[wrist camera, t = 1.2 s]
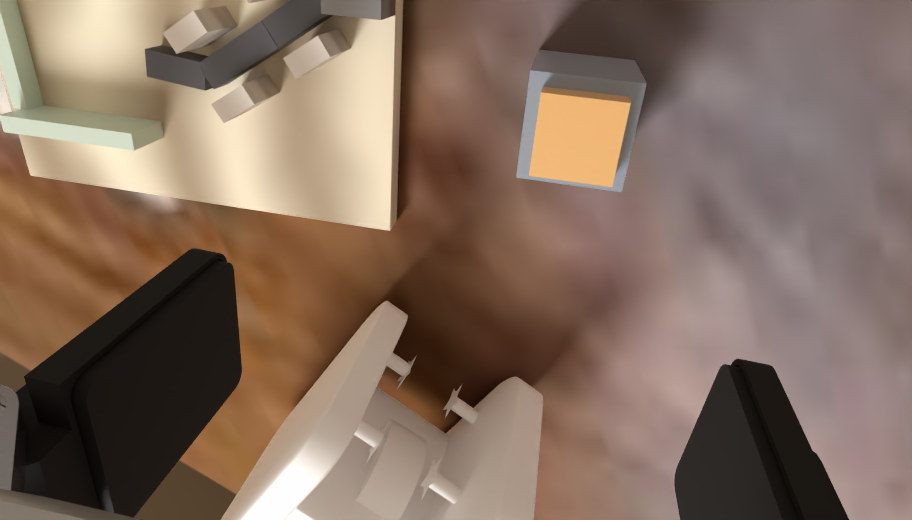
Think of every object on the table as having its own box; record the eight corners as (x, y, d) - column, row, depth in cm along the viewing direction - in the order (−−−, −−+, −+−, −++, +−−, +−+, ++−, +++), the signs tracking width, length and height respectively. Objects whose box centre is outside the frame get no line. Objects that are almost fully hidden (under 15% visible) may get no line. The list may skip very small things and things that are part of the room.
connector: (634, 59, 24) (649, 89, 19) (614, 152, 26) (623, 202, 21) (539, 49, 25) (528, 75, 20) (526, 140, 27) (513, 186, 22)
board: (406, -100, 23) (379, -107, 20) (396, 221, 30) (375, 252, 27) (-35, -135, 26) (-120, -147, 22) (48, 168, 32) (-9, 191, 29)
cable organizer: (402, 269, 31) (317, 421, 21) (554, 379, 33) (543, 570, 23) (281, 419, 38) (175, 587, 28) (411, 503, 40) (354, 691, 30)
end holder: (135, -35, 25) (98, -34, 23) (164, 137, 29) (134, 150, 27) (-13, -50, 26) (-59, -50, 24) (34, 119, 30) (-4, 130, 28)
